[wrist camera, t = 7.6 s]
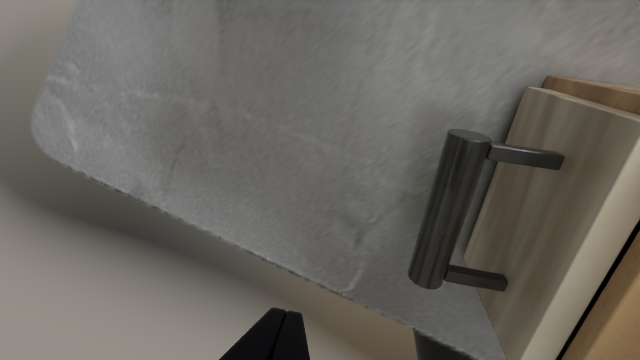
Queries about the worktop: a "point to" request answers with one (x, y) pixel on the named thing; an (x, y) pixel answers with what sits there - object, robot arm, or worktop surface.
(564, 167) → the drawer
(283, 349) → the robot arm
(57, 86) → the worktop surface
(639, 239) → the cabinet
